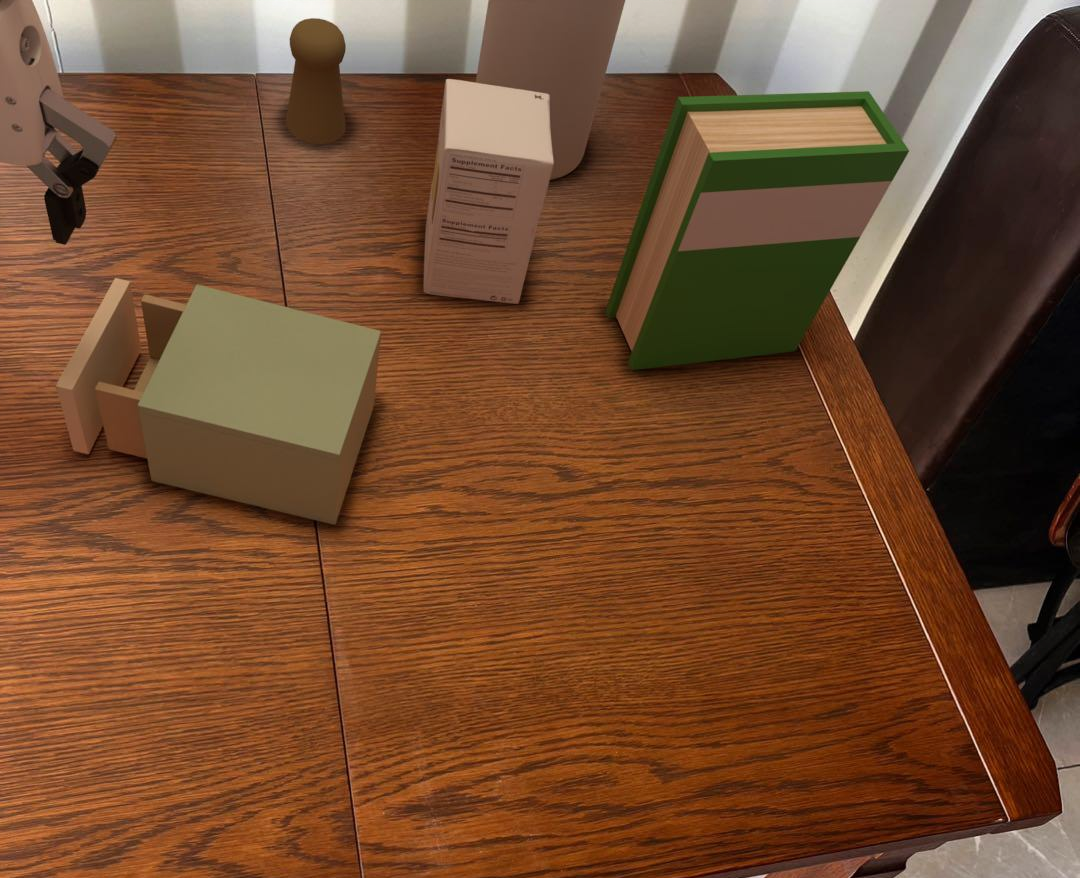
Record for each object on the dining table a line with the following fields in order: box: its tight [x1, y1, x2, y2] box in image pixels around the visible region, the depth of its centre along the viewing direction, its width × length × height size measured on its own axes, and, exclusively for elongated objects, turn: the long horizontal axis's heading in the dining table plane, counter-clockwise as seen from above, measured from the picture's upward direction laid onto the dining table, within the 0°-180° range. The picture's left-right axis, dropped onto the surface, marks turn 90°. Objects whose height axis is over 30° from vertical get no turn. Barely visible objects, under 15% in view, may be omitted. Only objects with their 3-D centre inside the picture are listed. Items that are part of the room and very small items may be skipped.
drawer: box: [55, 277, 187, 459], centre depth 84 cm, size 15×11×8 cm
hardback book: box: [605, 90, 910, 371], centre depth 95 cm, size 18×7×24 cm, turn 107°
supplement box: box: [423, 78, 554, 305], centre depth 97 cm, size 10×9×17 cm
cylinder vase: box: [475, 0, 626, 181], centre depth 105 cm, size 12×12×25 cm
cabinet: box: [138, 283, 382, 525], centre depth 85 cm, size 15×13×10 cm
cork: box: [285, 17, 347, 145], centre depth 106 cm, size 6×6×11 cm
